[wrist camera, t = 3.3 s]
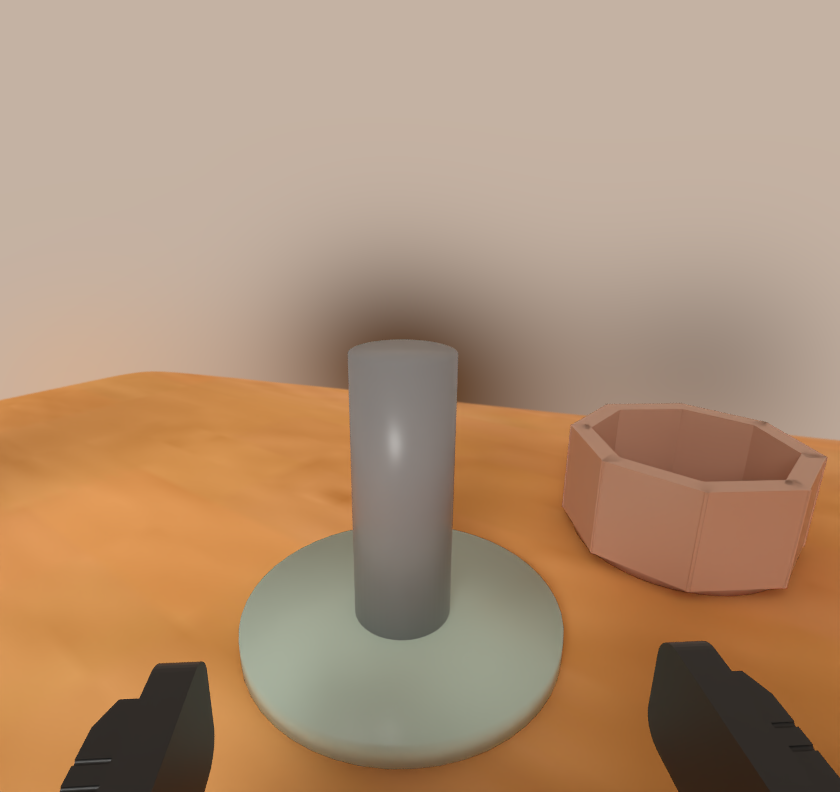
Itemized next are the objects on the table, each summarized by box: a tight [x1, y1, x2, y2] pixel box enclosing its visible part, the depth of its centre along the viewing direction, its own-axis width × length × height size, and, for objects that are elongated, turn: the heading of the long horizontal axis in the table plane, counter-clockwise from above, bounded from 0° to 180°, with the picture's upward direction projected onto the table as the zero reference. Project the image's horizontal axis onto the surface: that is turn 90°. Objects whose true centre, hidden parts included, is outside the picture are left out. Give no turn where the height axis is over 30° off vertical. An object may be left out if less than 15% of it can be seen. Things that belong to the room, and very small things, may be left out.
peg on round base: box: [239, 340, 564, 769], centre depth 21 cm, size 12×12×11 cm
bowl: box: [562, 403, 828, 596], centre depth 29 cm, size 10×10×5 cm
